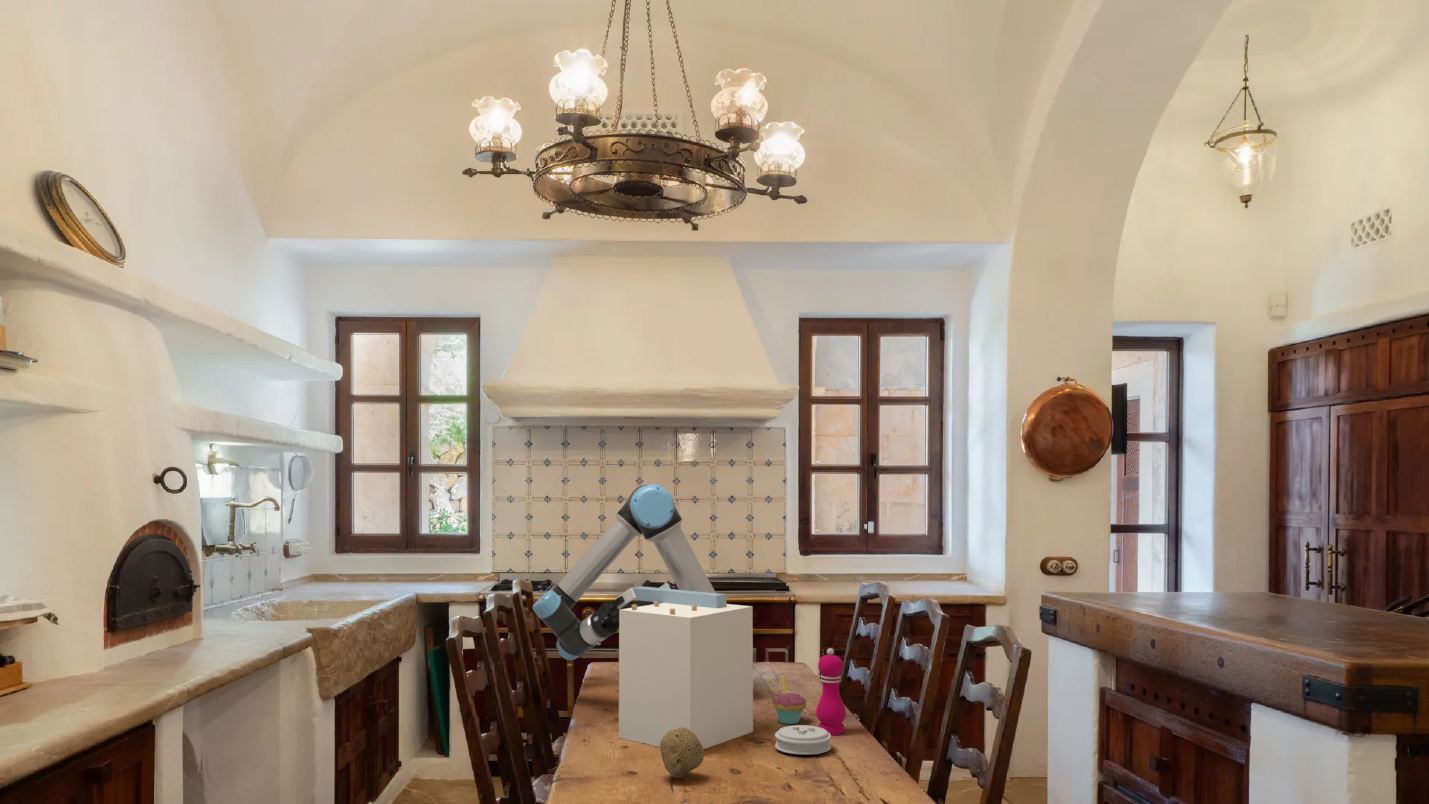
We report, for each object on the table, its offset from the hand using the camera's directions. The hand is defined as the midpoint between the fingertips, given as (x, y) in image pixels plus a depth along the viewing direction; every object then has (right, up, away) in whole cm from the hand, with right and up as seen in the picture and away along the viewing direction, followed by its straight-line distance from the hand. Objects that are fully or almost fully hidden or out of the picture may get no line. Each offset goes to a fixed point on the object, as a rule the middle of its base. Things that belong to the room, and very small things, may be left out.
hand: (651, 590), depth 249 cm
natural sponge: (+10, -29, -50) cm, 59 cm away
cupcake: (+35, -32, -5) cm, 48 cm away
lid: (+36, -31, -30) cm, 56 cm away
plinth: (+10, -31, -17) cm, 37 cm away
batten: (+7, -2, -5) cm, 9 cm away
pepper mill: (+45, -32, -15) cm, 57 cm away
